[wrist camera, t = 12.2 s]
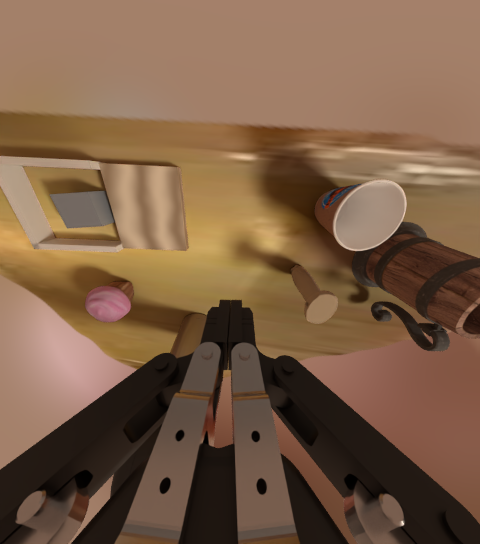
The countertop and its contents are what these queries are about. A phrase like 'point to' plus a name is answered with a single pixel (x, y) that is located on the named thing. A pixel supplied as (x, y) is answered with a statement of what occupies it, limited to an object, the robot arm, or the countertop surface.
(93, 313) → the cupcake
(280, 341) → the countertop surface
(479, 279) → the tankard
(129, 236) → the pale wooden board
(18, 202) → the box
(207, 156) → the countertop surface
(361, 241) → the coffee cup
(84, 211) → the matte grey cube
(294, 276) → the handle
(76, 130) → the countertop surface
